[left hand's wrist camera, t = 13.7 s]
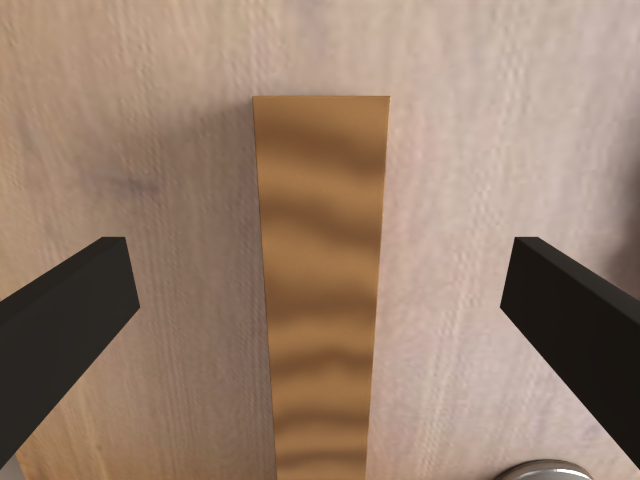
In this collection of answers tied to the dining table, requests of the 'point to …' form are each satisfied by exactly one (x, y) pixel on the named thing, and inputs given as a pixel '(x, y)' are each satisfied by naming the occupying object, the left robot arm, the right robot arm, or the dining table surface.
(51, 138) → the dining table surface
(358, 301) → the wide beam
